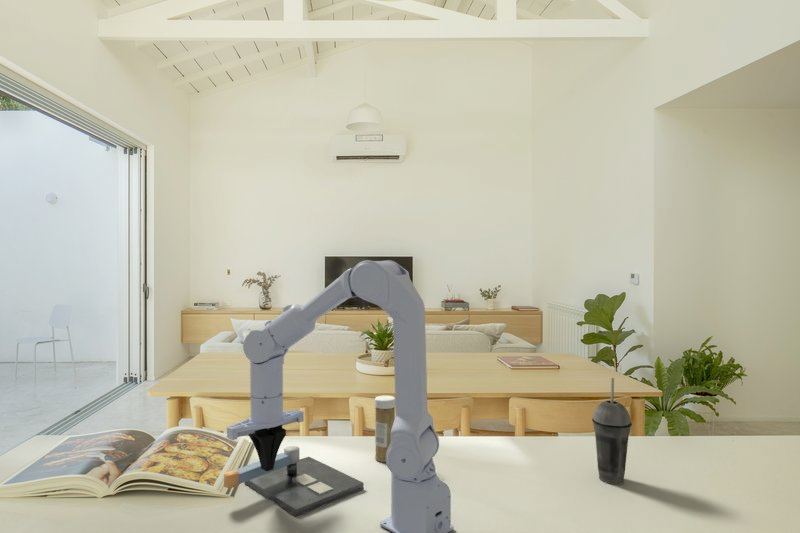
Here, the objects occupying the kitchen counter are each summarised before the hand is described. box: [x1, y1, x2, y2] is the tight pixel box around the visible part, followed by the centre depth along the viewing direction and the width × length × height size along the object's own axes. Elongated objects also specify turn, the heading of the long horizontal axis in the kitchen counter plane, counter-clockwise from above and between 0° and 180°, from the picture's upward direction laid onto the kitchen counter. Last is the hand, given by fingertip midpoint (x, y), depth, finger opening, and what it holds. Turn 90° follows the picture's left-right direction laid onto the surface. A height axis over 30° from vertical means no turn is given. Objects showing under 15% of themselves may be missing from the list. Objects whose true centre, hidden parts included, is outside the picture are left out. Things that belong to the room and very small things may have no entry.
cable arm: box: [223, 445, 300, 489], centre depth 97 cm, size 16×3×2 cm, turn 141°
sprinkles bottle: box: [374, 394, 396, 463], centre depth 113 cm, size 5×5×14 cm
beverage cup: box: [591, 377, 633, 485], centre depth 102 cm, size 7×7×20 cm
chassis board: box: [244, 456, 364, 517], centre depth 99 cm, size 18×15×3 cm
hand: (267, 468), depth 94 cm, fingers closed
